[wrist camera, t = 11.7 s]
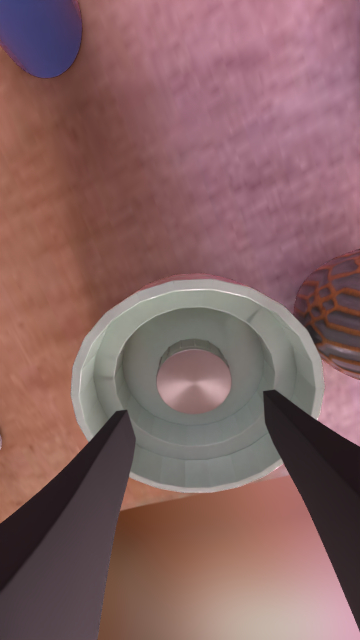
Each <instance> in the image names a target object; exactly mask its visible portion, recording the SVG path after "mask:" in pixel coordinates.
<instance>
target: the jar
mask: <svg viewBox="0 0 360 640" xmlns="http://www.w3.org/2000/svg"><path fill="white" fill-rule="evenodd" d="M81 38H82V19H81V12H80V8H79V4H78V1H77V0H0V46H1V47H2V49H3V50H4V51H5V52H6V53H7V54H8V56H9V57H10V58H11V59H12V60H13V61H14V62H15V63H16V64H17V65H18V66H19V67H20V68H21V69H23V70H24V71H26V72H27V73H29V74H31V75H33V76H36V77H40V78H52V77H56V76H58V75H61V74H62V73H64V72H65V71H66V70H67V69H68V68H69V67H70V66H71V65H72V63H73V62H74V60H75V58H76V56H77V54H78V51H79V48H80V44H81Z"/></svg>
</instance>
